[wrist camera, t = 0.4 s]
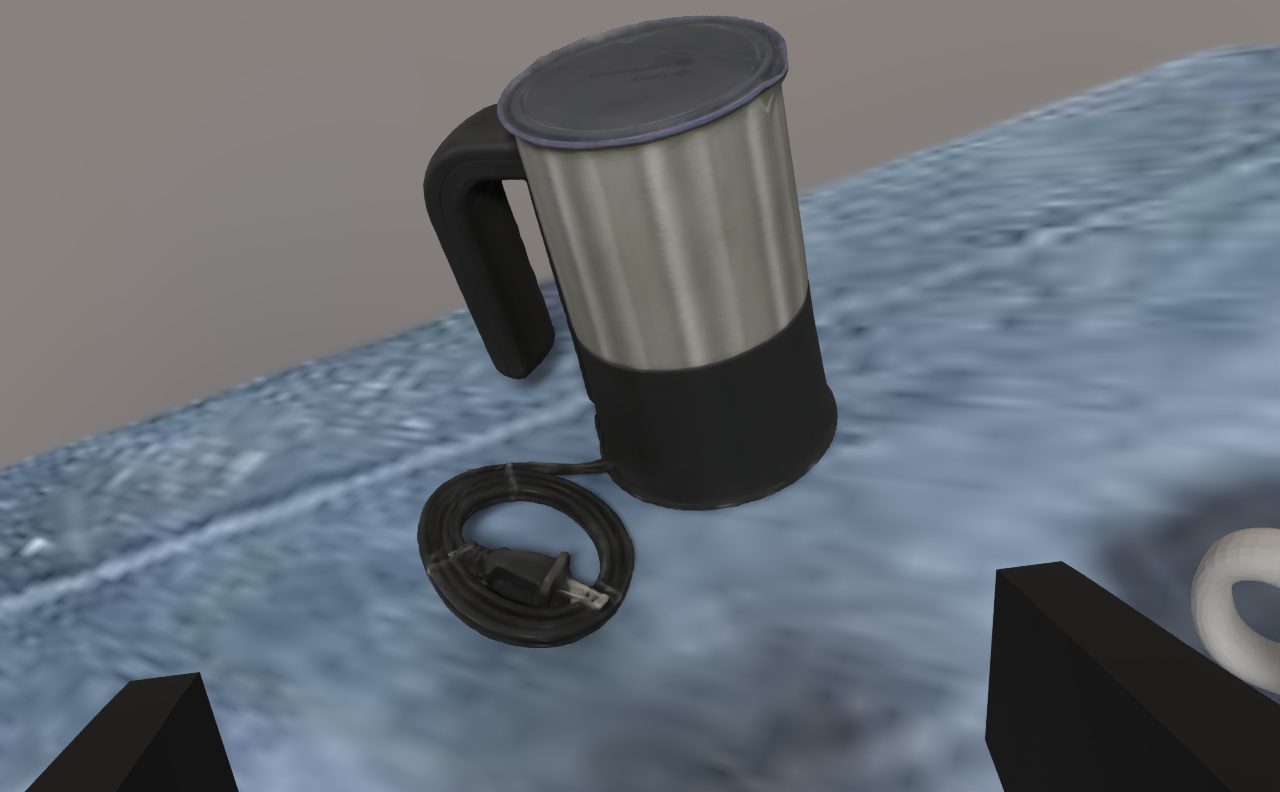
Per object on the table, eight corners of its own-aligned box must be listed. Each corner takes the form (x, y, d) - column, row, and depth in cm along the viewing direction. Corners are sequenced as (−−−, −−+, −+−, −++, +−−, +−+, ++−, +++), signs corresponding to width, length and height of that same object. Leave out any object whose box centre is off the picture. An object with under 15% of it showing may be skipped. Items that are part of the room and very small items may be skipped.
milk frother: (840, 348, 47) (788, -10, 39) (854, 655, 35) (782, 232, 26) (510, 386, 50) (392, 63, 42) (416, 680, 38) (222, 309, 29)
